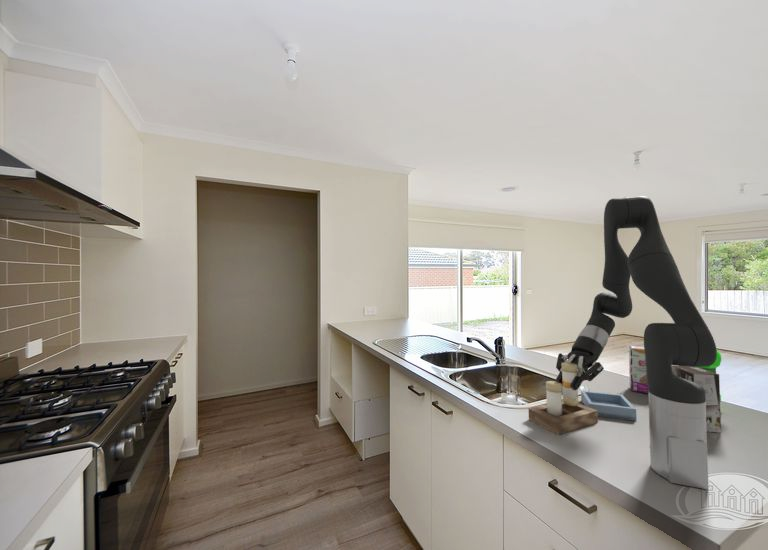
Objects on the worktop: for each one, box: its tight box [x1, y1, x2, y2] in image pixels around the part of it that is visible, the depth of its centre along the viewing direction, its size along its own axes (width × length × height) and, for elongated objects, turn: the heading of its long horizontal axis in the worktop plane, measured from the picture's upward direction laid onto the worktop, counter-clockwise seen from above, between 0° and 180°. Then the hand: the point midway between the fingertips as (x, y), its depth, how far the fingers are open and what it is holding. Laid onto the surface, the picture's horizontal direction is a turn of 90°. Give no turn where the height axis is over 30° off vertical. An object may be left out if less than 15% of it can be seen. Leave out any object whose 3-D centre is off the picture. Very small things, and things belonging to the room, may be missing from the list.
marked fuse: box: [562, 362, 580, 406], centre depth 95 cm, size 4×4×12 cm
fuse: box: [545, 380, 563, 417], centre depth 92 cm, size 4×4×12 cm
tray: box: [580, 390, 637, 422], centre depth 100 cm, size 12×12×4 cm
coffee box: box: [671, 365, 722, 434], centre depth 90 cm, size 9×6×16 cm
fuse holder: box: [528, 399, 599, 436], centre depth 93 cm, size 17×10×4 cm, turn 113°
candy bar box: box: [628, 345, 649, 394], centre depth 114 cm, size 11×5×16 cm, turn 58°
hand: (565, 385), depth 94 cm, fingers closed on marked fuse, 4 cm apart
